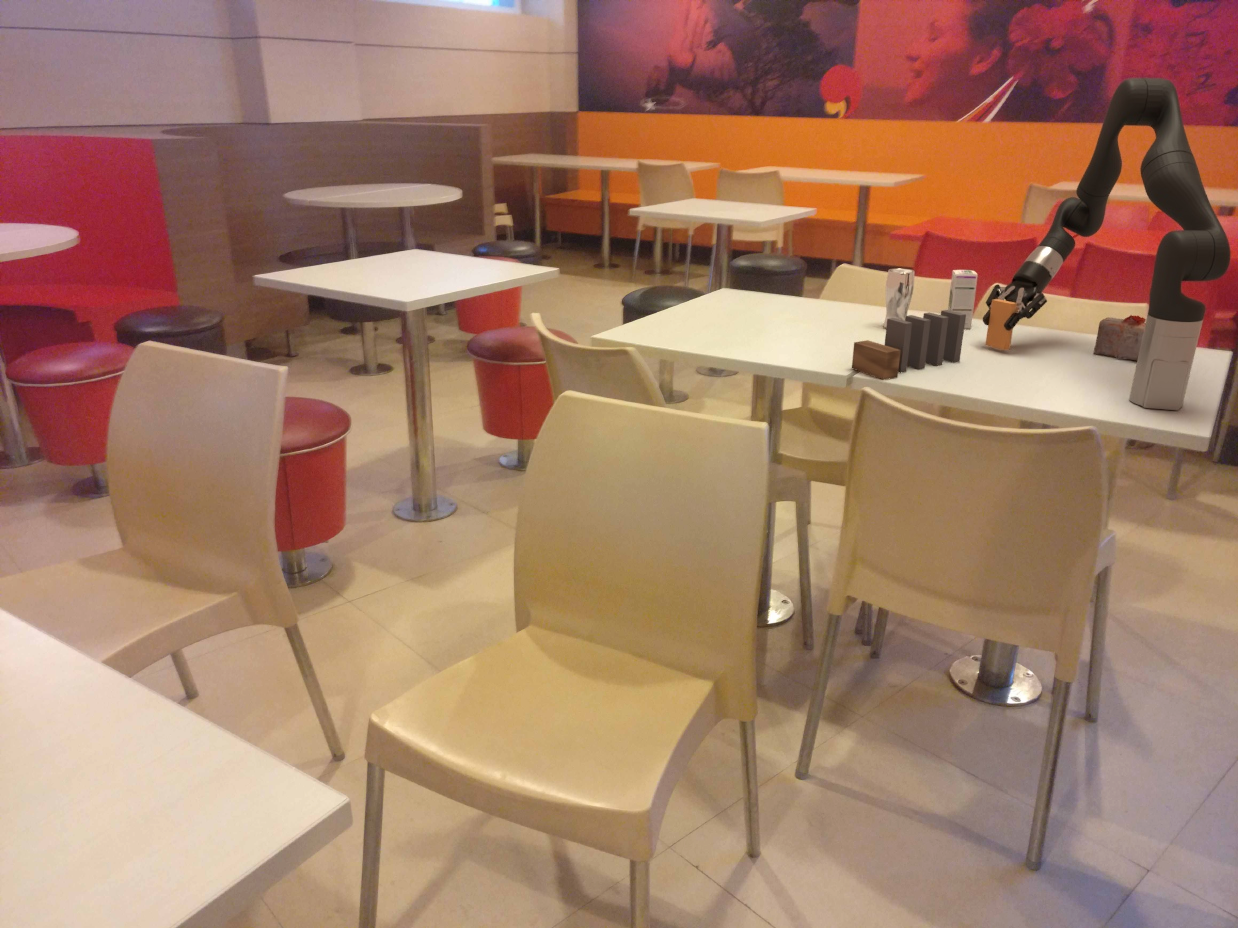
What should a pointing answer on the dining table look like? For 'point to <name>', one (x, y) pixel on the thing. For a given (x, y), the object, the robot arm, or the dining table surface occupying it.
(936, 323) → the domino
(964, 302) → the syrup box
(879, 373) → the block
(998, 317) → the orange tile
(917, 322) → the domino
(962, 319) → the domino
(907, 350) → the domino
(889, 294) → the beer glass
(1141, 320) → the food item
